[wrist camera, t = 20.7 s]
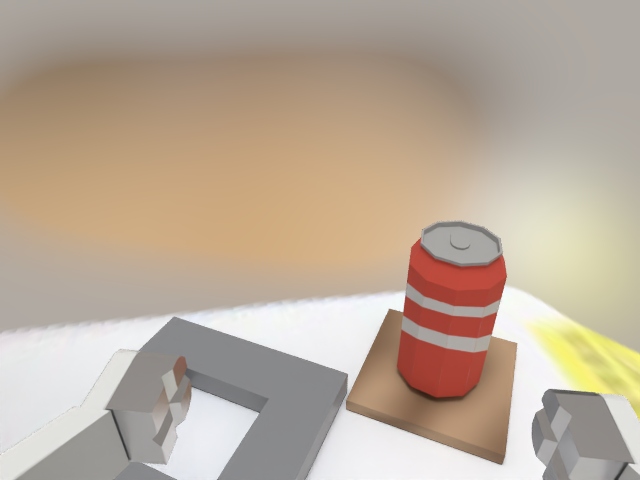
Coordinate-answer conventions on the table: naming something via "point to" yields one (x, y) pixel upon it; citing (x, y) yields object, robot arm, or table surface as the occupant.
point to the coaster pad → (438, 412)
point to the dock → (255, 400)
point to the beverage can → (450, 307)
